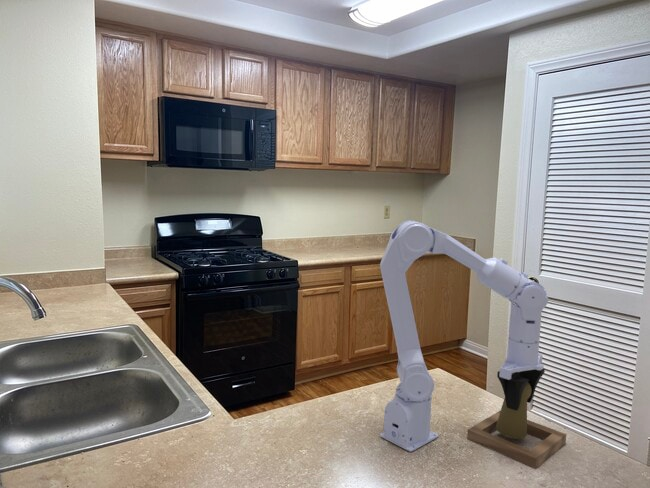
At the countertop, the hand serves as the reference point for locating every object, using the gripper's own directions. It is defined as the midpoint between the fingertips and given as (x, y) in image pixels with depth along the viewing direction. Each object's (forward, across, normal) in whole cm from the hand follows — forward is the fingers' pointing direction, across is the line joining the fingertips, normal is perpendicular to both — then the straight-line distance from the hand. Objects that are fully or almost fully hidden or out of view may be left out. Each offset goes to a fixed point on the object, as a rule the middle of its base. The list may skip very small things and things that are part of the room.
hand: (518, 404), depth 96 cm
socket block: (+8, 0, 0) cm, 8 cm away
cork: (+6, 0, +1) cm, 6 cm away
